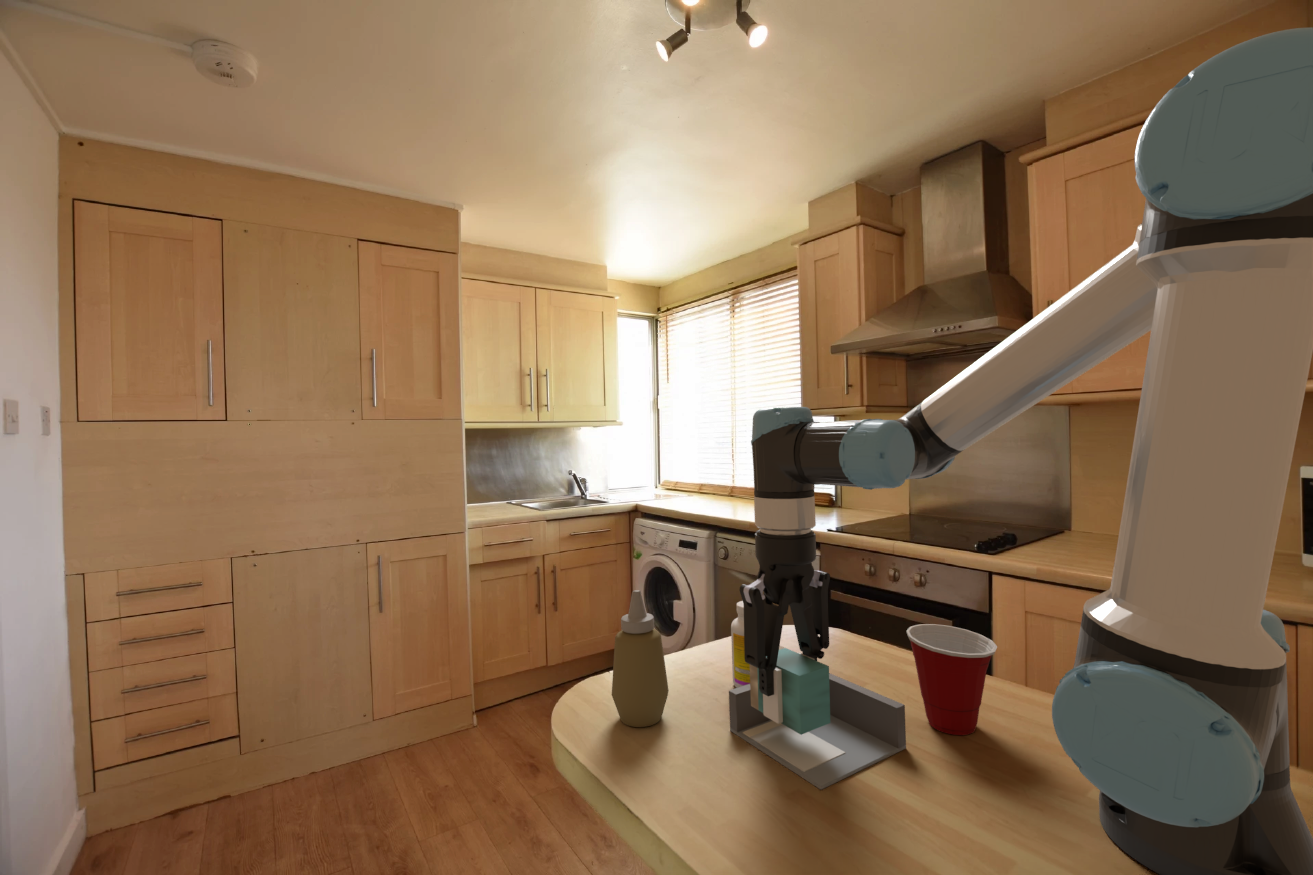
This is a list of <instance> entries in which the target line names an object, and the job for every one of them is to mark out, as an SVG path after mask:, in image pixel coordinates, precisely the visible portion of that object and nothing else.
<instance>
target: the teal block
mask: <svg viewBox="0 0 1313 875" xmlns="http://www.w3.org/2000/svg"><path fill="white" fill-rule="evenodd" d="M799 653H800V652H796V651H794V650H791V649H789V648H786V647H784V646H782V645H780V646H779V652H778V658H777V665H776V667H777V668H779V669H781V673H782V708H783V722H782V723H781V724H783V725H785V726H787V727H788V728H790V729H792V730H794V731H795V732H797V733H799V734H800V735H802V734H804V733H807V732H809V731H812V730H814V729H817V728H819V727H821V726H824V725H826V724H829V723H830V688H829V673H830V665H827V664H825V663H822V662H820V661H818V660H817V661H816V660H813V659H811V658H808V657H806V656H804V655H801V654H799ZM766 658H767V656H766ZM750 692H751V706H752V707H754V708H755V709H757V710H759V711H761V712H762V713H763V693H761V692H760V689H759V669H758V668H756V667H754V666H752V665H750Z"/></svg>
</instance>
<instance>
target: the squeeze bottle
mask: <svg viewBox="0 0 1313 875" xmlns="http://www.w3.org/2000/svg"><path fill="white" fill-rule="evenodd" d="M620 625H621V626H620V627H621V630H620V631H618V632H617V633H616V635H615V637H614V649H613V650H614V652H613V667H612V668H613V669H612V679H611V680H612V683H611V684H612V685H611V697H612V700H613V703H614V705H615V707H616V712H617V713H618V716H619V719H620V721H621V722H622V724H624V725H626V726H629V727H632V728H633V727H634V728H635V727H636V728H644V727H645V728H646V727H649V726H653V725H656V724H658V722H660V721H661V720H662V718H663V714H664V711H665V708H666V707H665V706H666V703H667V700H668V696H669V683H668V676H667V670H666V669H667V668H666V662H665V655H664V646H663V640H662V634H661V633H660V631H658V630H657V629H656V628H655V616H654V615H653V614H651V613H648V612H647V611H646V608H645V603H644V599H643V594H642V592H641V590H639V589H638V590H637V589H636V590H632V592H631V597H630V603H629V609H628V613H627V614H624V615H622V616H621V618H620Z"/></svg>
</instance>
